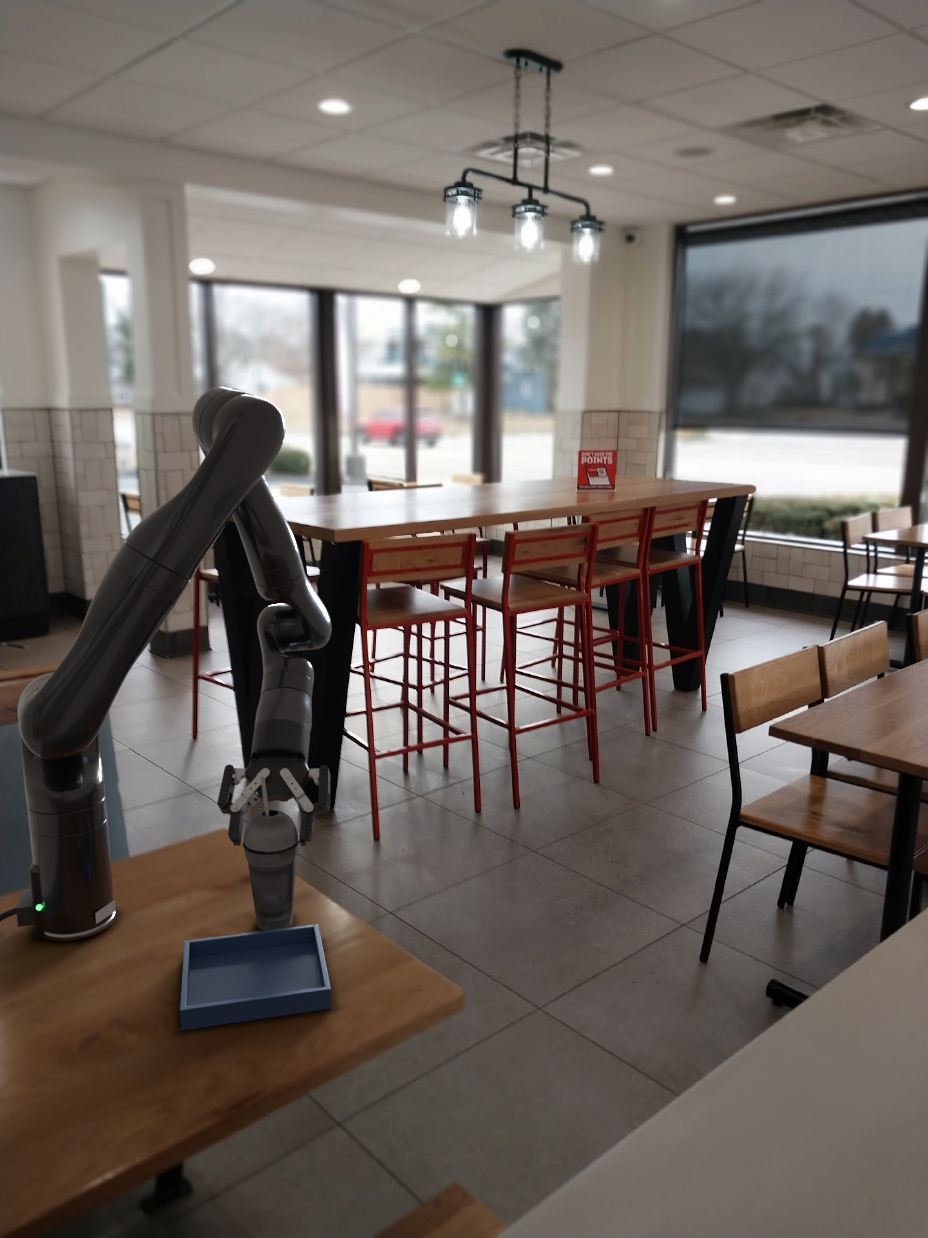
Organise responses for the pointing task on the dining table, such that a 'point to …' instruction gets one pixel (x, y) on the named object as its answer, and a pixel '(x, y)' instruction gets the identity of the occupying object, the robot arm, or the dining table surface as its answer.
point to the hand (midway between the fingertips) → (269, 844)
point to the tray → (253, 977)
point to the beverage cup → (272, 865)
